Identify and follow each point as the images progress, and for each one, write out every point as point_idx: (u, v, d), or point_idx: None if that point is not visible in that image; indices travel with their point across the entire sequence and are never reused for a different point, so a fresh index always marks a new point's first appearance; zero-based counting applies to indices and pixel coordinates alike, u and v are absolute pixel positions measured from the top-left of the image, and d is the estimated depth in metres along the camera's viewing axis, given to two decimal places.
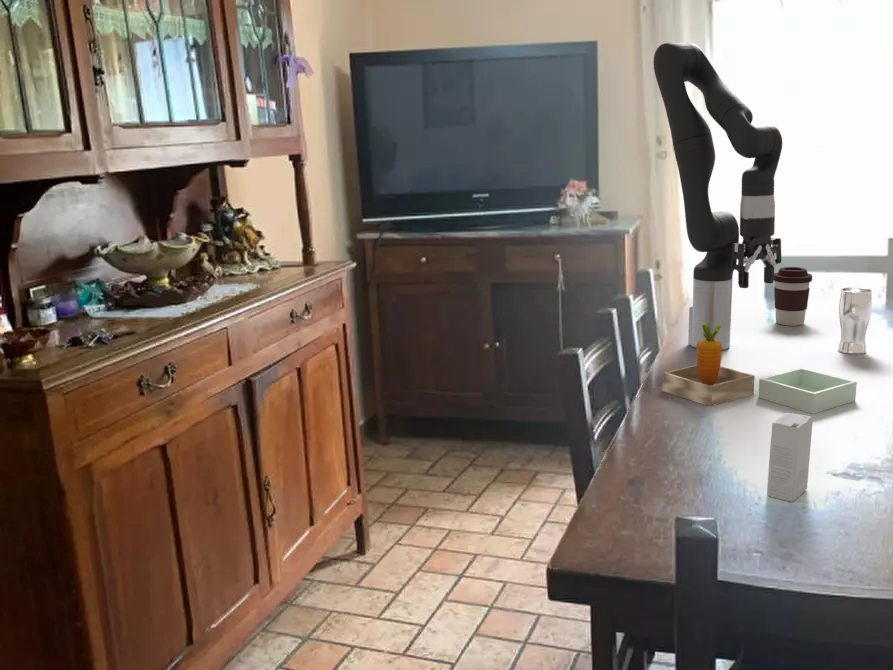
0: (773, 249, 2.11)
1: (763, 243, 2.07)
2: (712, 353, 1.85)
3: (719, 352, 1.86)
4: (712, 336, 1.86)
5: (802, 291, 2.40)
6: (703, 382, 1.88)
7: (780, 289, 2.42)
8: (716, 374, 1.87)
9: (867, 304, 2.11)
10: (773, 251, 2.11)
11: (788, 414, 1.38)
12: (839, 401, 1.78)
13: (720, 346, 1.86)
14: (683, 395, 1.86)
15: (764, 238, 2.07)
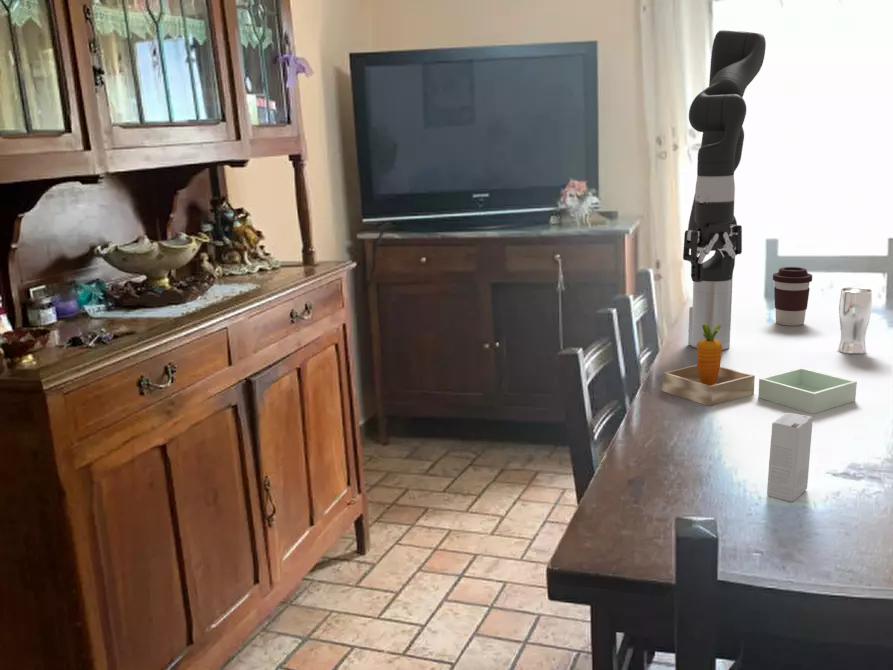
0: (733, 238, 1.85)
1: (721, 231, 1.81)
2: (712, 353, 1.85)
3: (719, 352, 1.86)
4: (712, 336, 1.86)
5: (802, 291, 2.40)
6: (703, 382, 1.88)
7: (780, 289, 2.42)
8: (716, 374, 1.87)
9: (867, 304, 2.11)
10: (733, 240, 1.85)
11: (788, 414, 1.38)
12: (839, 401, 1.78)
13: (720, 346, 1.86)
14: (683, 395, 1.86)
15: (722, 225, 1.81)
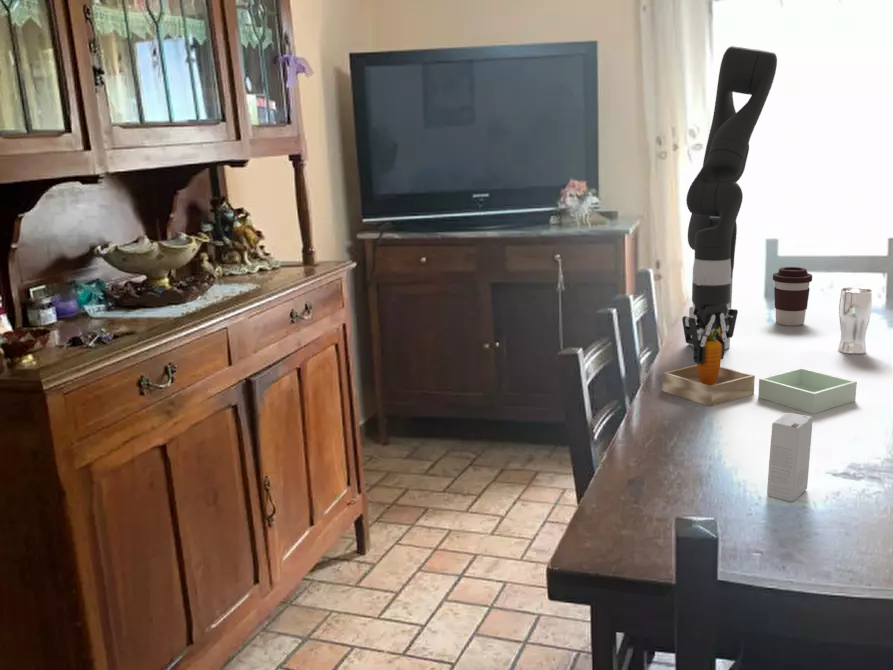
0: (727, 320, 1.88)
1: (717, 311, 1.85)
2: (712, 353, 1.85)
3: (719, 352, 1.86)
4: (712, 336, 1.86)
5: (802, 291, 2.40)
6: (703, 382, 1.88)
7: (780, 289, 2.42)
8: (716, 374, 1.87)
9: (867, 304, 2.11)
10: (727, 322, 1.88)
11: (788, 414, 1.38)
12: (839, 401, 1.78)
13: (720, 346, 1.86)
14: (683, 395, 1.86)
15: (719, 306, 1.85)
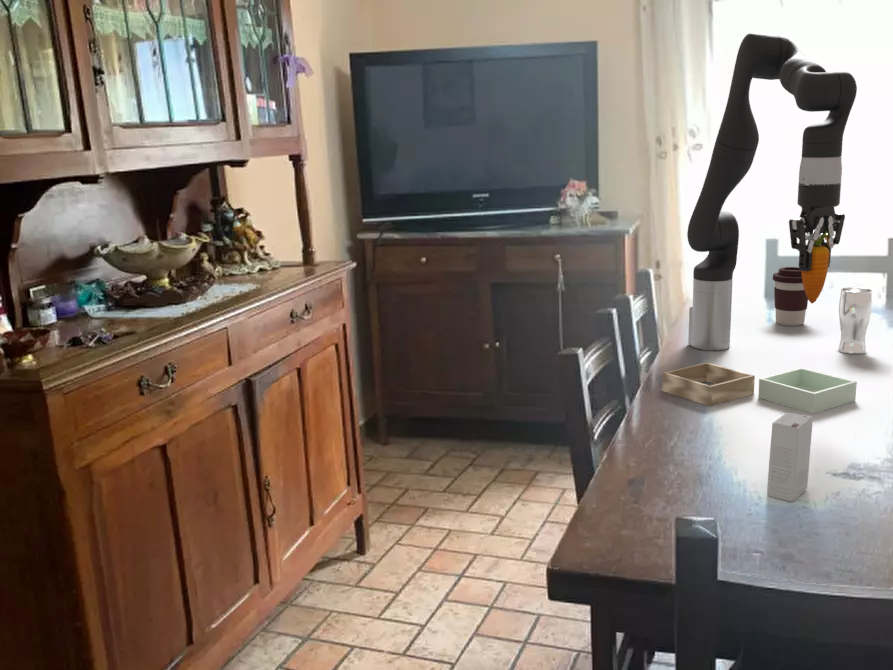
0: (833, 226, 1.77)
1: (825, 215, 1.74)
2: (819, 259, 1.74)
3: (827, 258, 1.75)
4: (819, 241, 1.75)
5: (802, 291, 2.40)
6: (808, 291, 1.77)
7: (780, 289, 2.42)
8: (823, 283, 1.76)
9: (867, 304, 2.11)
10: (833, 228, 1.77)
11: (788, 414, 1.38)
12: (839, 401, 1.78)
13: (828, 252, 1.75)
14: (683, 395, 1.86)
15: (827, 209, 1.74)
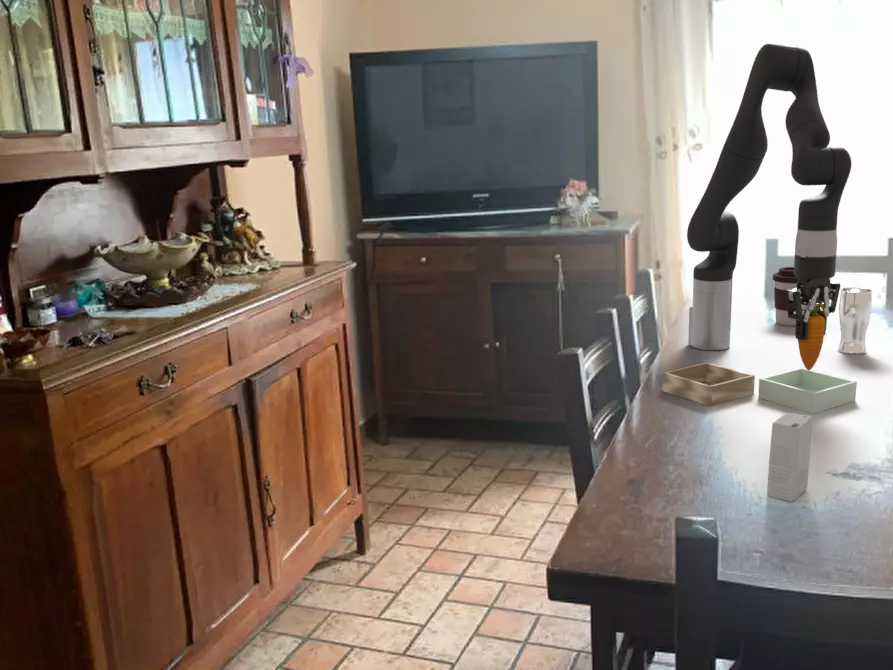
0: (829, 295, 1.81)
1: (821, 285, 1.77)
2: (816, 328, 1.77)
3: (823, 327, 1.78)
4: (815, 311, 1.78)
5: None
6: (805, 359, 1.80)
7: (780, 289, 2.42)
8: (819, 351, 1.79)
9: (867, 304, 2.11)
10: (828, 297, 1.81)
11: (788, 414, 1.38)
12: (839, 401, 1.78)
13: (824, 321, 1.78)
14: (683, 395, 1.86)
15: (822, 279, 1.77)
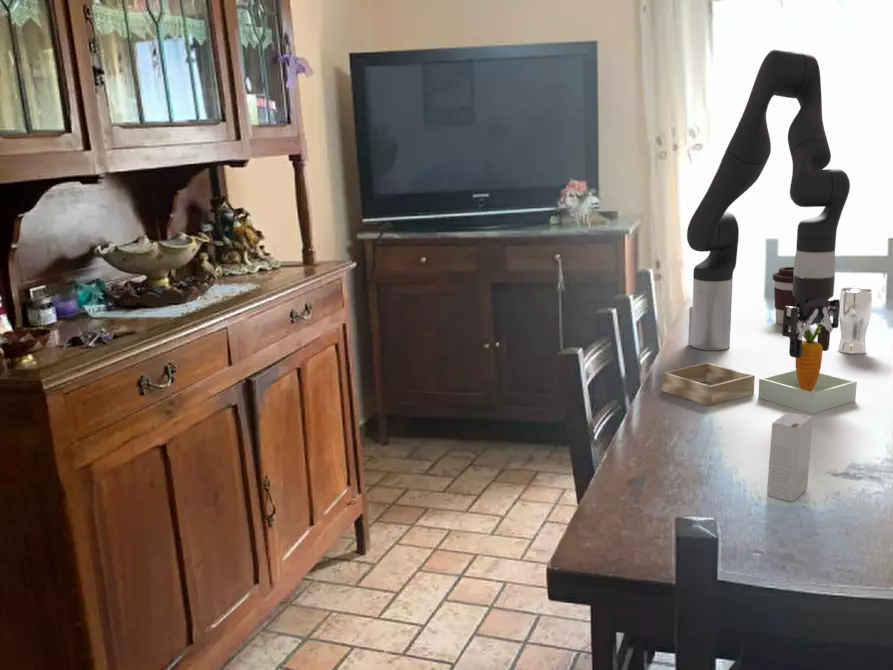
0: (829, 311, 1.82)
1: (819, 305, 1.78)
2: (813, 355, 1.78)
3: (820, 354, 1.79)
4: (813, 338, 1.79)
5: None
6: (802, 385, 1.81)
7: (780, 289, 2.42)
8: (816, 377, 1.80)
9: (867, 304, 2.11)
10: (830, 313, 1.82)
11: (788, 414, 1.38)
12: (839, 401, 1.78)
13: (821, 348, 1.79)
14: (683, 395, 1.86)
15: (821, 300, 1.78)
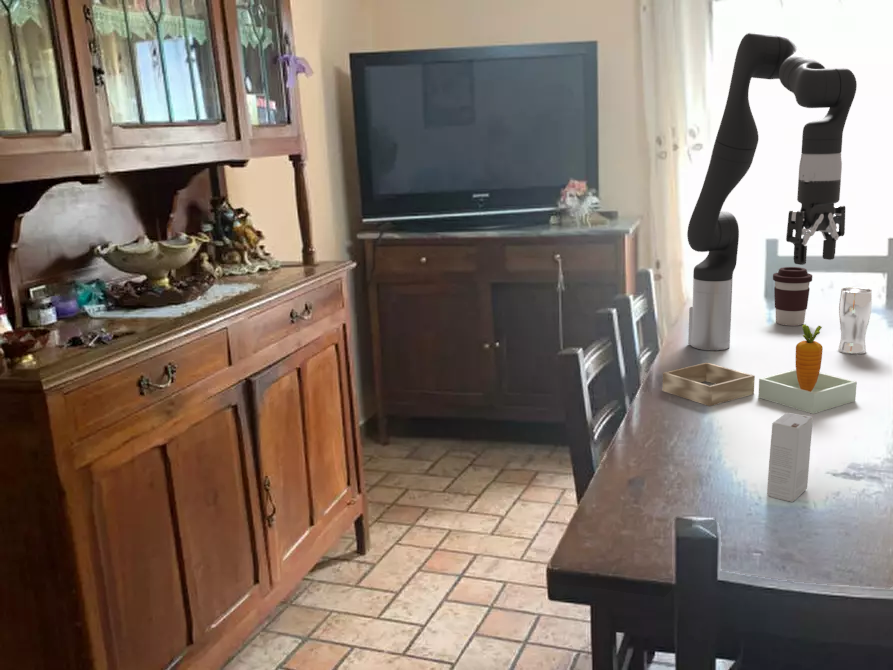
0: (835, 219, 1.77)
1: (825, 211, 1.74)
2: (813, 355, 1.78)
3: (820, 354, 1.79)
4: (813, 338, 1.79)
5: (802, 291, 2.40)
6: (802, 385, 1.81)
7: (780, 289, 2.42)
8: (816, 377, 1.80)
9: (867, 304, 2.11)
10: (835, 221, 1.78)
11: (788, 414, 1.38)
12: (839, 401, 1.78)
13: (821, 348, 1.79)
14: (683, 395, 1.86)
15: (826, 205, 1.74)
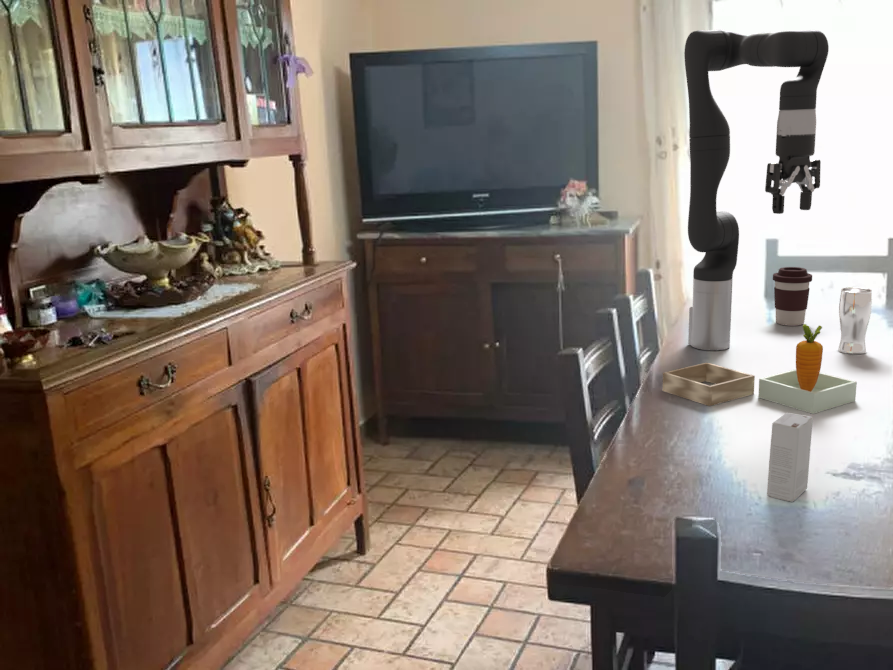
0: (811, 172, 1.91)
1: (801, 164, 1.87)
2: (813, 355, 1.78)
3: (820, 354, 1.79)
4: (813, 338, 1.79)
5: (802, 291, 2.40)
6: (802, 385, 1.81)
7: (780, 289, 2.42)
8: (816, 377, 1.81)
9: (867, 304, 2.11)
10: (811, 174, 1.91)
11: (788, 414, 1.38)
12: (839, 401, 1.78)
13: (821, 348, 1.79)
14: (683, 395, 1.86)
15: (802, 158, 1.87)
